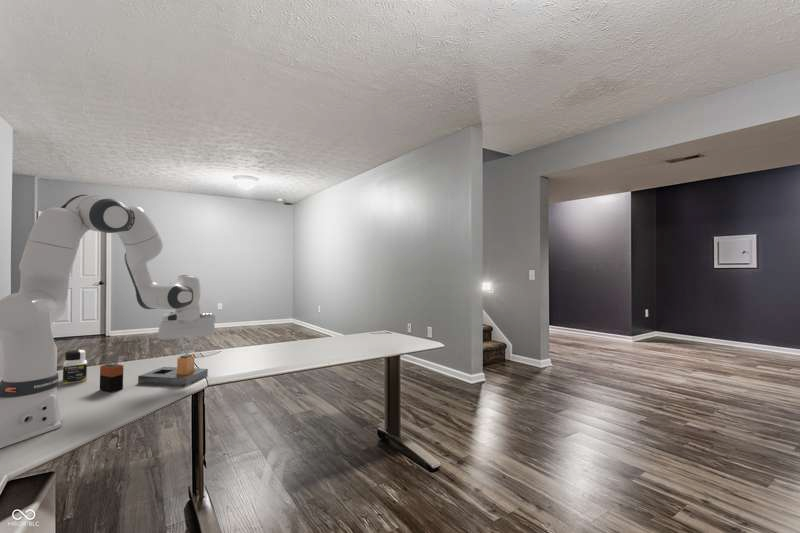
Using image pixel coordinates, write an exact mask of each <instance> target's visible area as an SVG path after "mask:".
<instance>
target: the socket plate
mask: <svg viewBox="0 0 800 533" xmlns="http://www.w3.org/2000/svg"><path fill="white" fill-rule="evenodd" d="M208 369H209V368H200V367H199V368H196V367H194V372H193V373H191V374H189V375H177V366H176V367H175V366H163V367H159V368H157V369H154V370H151V371H149V372H146V373H145V372H144V373H143V374H140V375H138V377H137V384H140V385H159V386H174V385H187V386H189V385H188V384H190V383H192V382H194V381H196V380H198V381H200V380H202V379H204V378H207V377H208V374H209V373H208V372H209V370H208ZM201 378H202V379H201ZM199 379H200V380H199ZM196 382H197V381H196ZM194 383H195V382H194ZM192 384H193V383H192ZM190 385H191V384H190Z"/></svg>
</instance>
